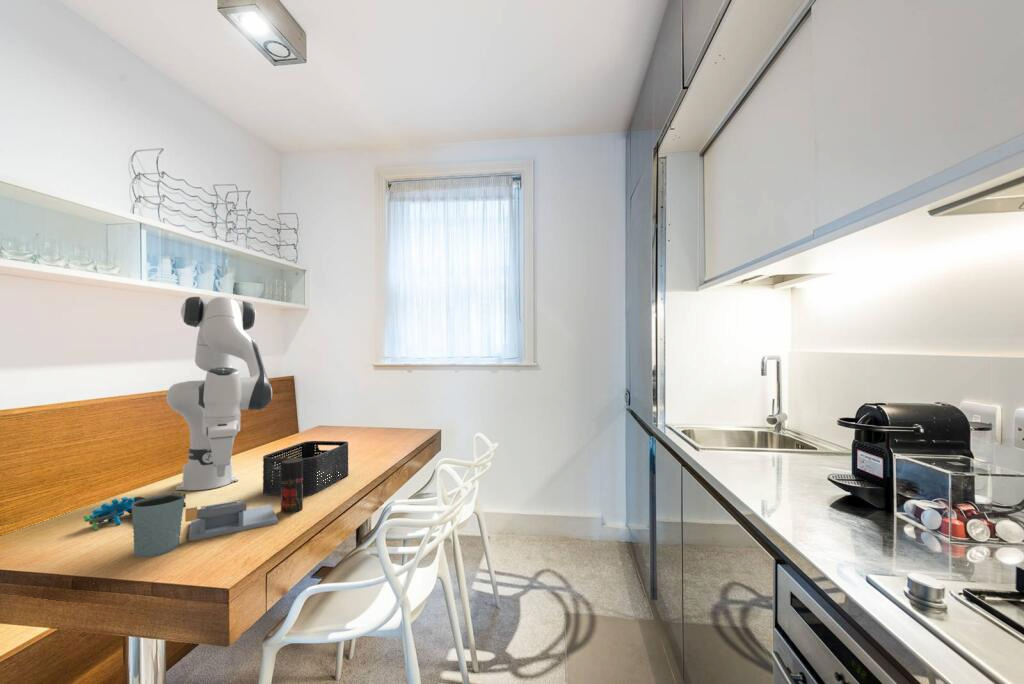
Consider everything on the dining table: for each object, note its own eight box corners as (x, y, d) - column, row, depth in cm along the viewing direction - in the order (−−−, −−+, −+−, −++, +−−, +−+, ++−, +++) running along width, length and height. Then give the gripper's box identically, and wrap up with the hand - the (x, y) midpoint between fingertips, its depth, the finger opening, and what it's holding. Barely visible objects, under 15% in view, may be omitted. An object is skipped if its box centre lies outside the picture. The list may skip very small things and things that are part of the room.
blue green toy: (131, 509, 130) (136, 490, 126) (138, 525, 128) (143, 506, 124) (80, 526, 121) (84, 506, 117) (88, 544, 119) (91, 524, 115)
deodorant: (277, 510, 132) (278, 461, 133) (298, 505, 137) (298, 457, 137) (285, 515, 128) (285, 464, 129) (305, 509, 133) (306, 460, 133)
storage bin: (310, 497, 145) (310, 457, 146) (257, 495, 148) (258, 456, 148) (351, 474, 174) (351, 441, 174) (306, 473, 176) (307, 440, 177)
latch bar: (185, 518, 113) (185, 508, 113) (245, 508, 120) (245, 498, 121) (185, 521, 111) (185, 511, 111) (246, 510, 118) (246, 501, 118)
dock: (191, 523, 122) (191, 506, 123) (271, 508, 134) (271, 493, 134) (189, 541, 110) (189, 522, 110) (277, 523, 122) (277, 506, 122)
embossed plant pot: (122, 562, 99) (123, 509, 100) (139, 545, 108) (140, 496, 109) (176, 553, 103) (177, 502, 104) (188, 537, 112) (189, 491, 113)
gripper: (208, 421, 127) (207, 468, 127) (207, 432, 111) (206, 487, 110) (233, 420, 131) (232, 465, 131) (237, 430, 114) (235, 483, 114)
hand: (220, 475), depth 120 cm, fingers closed
